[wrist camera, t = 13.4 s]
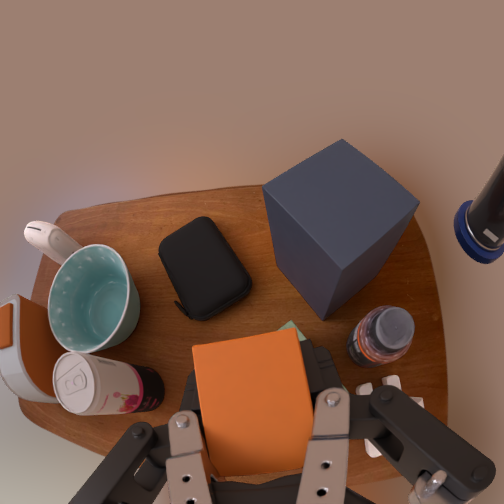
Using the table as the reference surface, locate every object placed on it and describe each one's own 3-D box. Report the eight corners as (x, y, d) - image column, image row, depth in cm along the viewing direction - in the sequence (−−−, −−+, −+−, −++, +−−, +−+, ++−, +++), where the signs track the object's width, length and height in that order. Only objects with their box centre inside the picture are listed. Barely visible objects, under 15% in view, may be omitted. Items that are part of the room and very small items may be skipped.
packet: (296, 353, 19) (295, 326, 10) (310, 424, 16) (323, 464, 7) (241, 363, 19) (191, 345, 10) (253, 434, 16) (212, 477, 7)
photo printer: (96, 254, 45) (53, 218, 34) (87, 275, 43) (41, 243, 32) (65, 246, 47) (26, 214, 36) (57, 264, 46) (15, 235, 35)
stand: (330, 226, 40) (342, 138, 25) (376, 275, 36) (420, 201, 21) (276, 265, 39) (261, 186, 24) (322, 321, 34) (342, 270, 19)
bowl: (173, 336, 36) (143, 322, 29) (93, 376, 35) (57, 369, 27) (141, 250, 43) (114, 224, 36) (73, 293, 42) (43, 275, 35)
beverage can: (173, 402, 32) (104, 406, 19) (136, 416, 31) (62, 420, 18) (155, 359, 35) (84, 340, 22) (120, 375, 34) (46, 361, 21)
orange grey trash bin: (45, 326, 40) (-9, 302, 28) (73, 315, 40) (17, 288, 28) (53, 403, 33) (-6, 395, 21) (84, 400, 33) (20, 393, 21)
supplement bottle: (397, 341, 31) (435, 321, 21) (369, 377, 30) (401, 373, 20) (364, 313, 34) (390, 284, 24) (335, 348, 32) (352, 333, 22)
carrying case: (154, 253, 43) (193, 333, 36) (145, 244, 40) (184, 328, 33) (210, 218, 44) (259, 291, 37) (204, 207, 41) (256, 283, 35)
